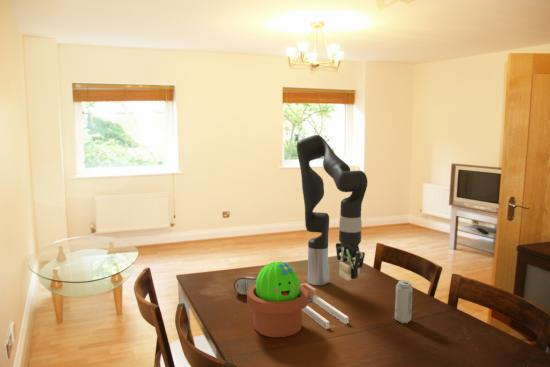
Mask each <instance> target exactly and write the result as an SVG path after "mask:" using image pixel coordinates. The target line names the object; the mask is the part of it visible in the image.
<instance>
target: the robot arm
mask: <svg viewBox="0 0 550 367" xmlns="http://www.w3.org/2000/svg"><path fill="white" fill-rule="evenodd" d="M296 152H297V157H298V162H299V168H300V175H301V176H300V177H301V188H302V194H303V202H304V220H305V221H304V223H305V229H306V231H307V232H310V233H320V235H319V236H316V237H312V238H310V239H308V244H307V247H308V248H307V284H309V285H311V286H324V285H326V284H328V283H330V262H329V230H330V216H329V213H328V212H317V211H315V212H314V209H315V208H316V207H317V206H318V204H320V203H321V201H322V199H323V198H324V196H325V186H324V185H325V184H324V180H323V178H322V177H321V176H320V174H318V172H316V171H315V170H314V169H312V167H311V165H310V162H312V161H314V160H317V159H320V158H322V157H323V161H322V166H323V169H324V172H326V174H327V175H329V177H331V178H332V180H333V182H334V184H335V187H336V189H337V190H339V191H340V192H343V193H351V194H350V196H348V197H345V198H343V199H341V201H340V213H339V214H340V215H339V216H340V217H339V222H338V223H339V224H338V225H339V228H338V231H339V233H338V240H339V242H337V243H335V250H336V259H337V260H338V261H339V262H344V261H349V262H350V263H351V279H353V280H357V279H356V278H357V276H358V275H357V274H358V268H360V269H362V268H363V265H364V261H365V260H364V259H365V256H366V253H365V252H364V251H361V250H360V246H359V245H360V244H361V242H362V222H363V221H362V204H363V200H364V197H365V195H366V191H367V188H368V177H367V175H366V173H365V171H363V170H351V168H350V167H349V165H348V164H347V163H346V162H345V161H343V159H342V158H340V157H339V156H338V155H337V154H336V153H335V151H334V150H333V149H332V148H331V146H330V145H329V144H328V143H327V141H326V140H325V138H323V137H322V136H321V135H320V134H314V135H311V136H308V137H305V138H302V139H300V140H298V141H297V143H296ZM354 262H355V265H354Z"/></svg>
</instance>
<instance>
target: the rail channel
mask: <svg viewBox="0 0 550 367" xmlns="http://www.w3.org/2000/svg"><path fill="white" fill-rule="evenodd" d="M300 284H301V285H302V286H304V287H305V288H306V289H307V291H308V303H311V302H313V303H314V304H316V305H317V306H318V307H319V308H322V309H323V310H324V311H325V312H327V313H328V314H330V315H331V316H333V317H334V318H335V317H336V319H337V320H338V319H339V320H338V321H340V322H341V323H342V324H344V325H348V324H350V323H349V319H350V318H349V316H348V315H346V314H345V313H343V312H342V311H340V310H339V309H337V308H336V307H334V306H333V305H331V304H330V303H328V302H327V301H325V300H324V299H322V297H319V296H318V295H317V288H315V287H313V285H311V284H310V283H308V282H305V283H300ZM302 312H303V313H305V315H307V316H308V317H310V318H311V319H312V320H313V321H315V322H316V323H317V324H318V325H320V326H321V327H322V328H324V329H325V330H327V329H330V320H328V319H326V318H325V317H323V315H321V314H319V312H317V311H315V310H314V309H313V308H312V307H311V306H309V305H307V306H306V307H305V308H304V309H302ZM347 323H348V324H347Z"/></svg>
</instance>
